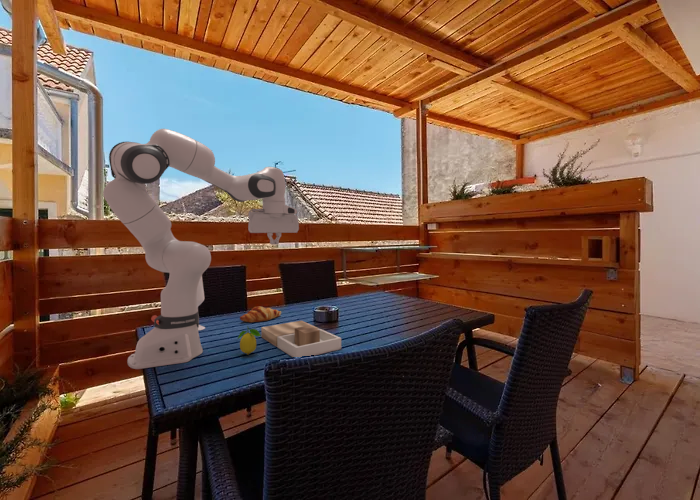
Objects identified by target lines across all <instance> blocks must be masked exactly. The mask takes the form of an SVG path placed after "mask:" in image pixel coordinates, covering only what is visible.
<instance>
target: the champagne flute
mask: <svg viewBox="0 0 700 500" xmlns="http://www.w3.org/2000/svg"><path fill="white" fill-rule="evenodd" d="M205 300H206V299H205V291H204V282H203V275H202V276H201V278H200V281H199V284H198V288H197V312H198V313H199V306H201V305H202V303H203V302H204V301H205ZM205 329H206V327H205V326H204V325H201V324H199V327H198V331H202V330H205Z"/></svg>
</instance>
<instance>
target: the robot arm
mask: <svg viewBox="0 0 700 500" xmlns="http://www.w3.org/2000/svg"><path fill="white" fill-rule="evenodd" d="M108 161H109V167H110V173H111V176H112V177H113V180H111V181H110V182H108V183H107V184H106V185H105V187H104V189H103V191H102V194H103V195H102V196H103V197H104V200H105V201H106V204H107V205H108V206H109V208H110V209H111V211H112V212H113V213H114V215H115V217H117V218H118V220H119V221H120V222H121V223H122V224H123V225H124V227H126V228H127V229H128V231H129V232H130V233H131V234H132V235H133V236H134V237H135V239H136V240H137V241H138V242H139V244H140V245H141V247H142V249H143V250H144V253H145V256H144V257H145V261H146V264H147V265H148V266H149V267H150V268H151V269H154V270H156V271H159V272H161V273H167V274H169V276H168V277H169V278H168V280H167V284H166V285H165V287H163V288H162V289H161V292H160V314H159V315H158V316H157V315H156V314H155V315H152V316H151V318H150V319H151V321H152V322H153V323H154V327H153V328H152V329H151V330H149V331H148V332H147V333H146V334H144V335H143V336H142V337H141V338H139V340H138V341H137V342H136V343H137V344H136V345H135V346H136V347H135V352H134V353H131V354H130V355H129V356H128V357H127V361H126V362H127V366H128V367H130V369H135V370H141V369H148V368H155V367H161V366H162V367H163V366H167V365H168V366H169V365H175V364H176V365H177V364H183V363H184V364H185V363H189V362H190V361H191V360H193V359H194V358H196V357H198V356H200V355H201V354H202V353H203V352H204V350H203V346H202V344H201V343H202V342H201V339H200V335H199V330H198V327H199V325H200V316H199V311H198V312H197V288H198V284H199V281H200V278H201V276H202V277H203V274H204V273H205V271H206V270H207V269H208V268H209V267H210V265H211V262H212V255H211V251H210V250H209V248H208V247H207V246H205V245H204V244H201V243H198V242H196V241H189V240H188V241H186V240H184V241H183V240H179V239H177V238H176V237H175V236H174V234H173V232H172V229H171V228H172V222H171V219H170V217H168V215H167V214H166V213H165V211H163V209H162V208H161V207H160V206H159V204H158V203H157V202H156V201H155V199H154V198H153V197H152V196H151V195H150V193H149V192H148V190H147V187H146V185H147V184H148V185H149V184H152V183H155V182H156V181H158V180H160V178H161V177H162V176H163V174H164V172H165V171H167V169H168V168H172V169H175V170H177V171H180V172H181V173H184V174H187V175H189V176H192V177H195V178H197V179H201V180H202V181H204V182H206V183H208V184H210V185H212V186H214V187H216V188H218V189H220V190H223V191H224V192H225V193H226V194H227V195H228V196H229V197H231V199H233V200H234V201H236V202H239V203H242V202H248V201H255V200H262V208H252V209H250V210H248V227H247V228H248V232H249V233H250V234H267V238H268V239H269V244H270V245H279V241H280V239H281V237H282V233H283V234H285V233H286V234H288V233H291V234H292V233H294V234H295V233H296V234H297V233H299V232H298V231H299V230H300V227H299V226H300V223H299V218H298V216H297V215H296V214H297V213H298V210H297V209H296V208H294V207H292V206H289V205H287V204H286V199H285V194H286V179H285V175H284V171H283V170H282V169H280V168H278V167H276V166H265V167H264V168H263V169H261V170H259V171H257V172H253V173H249V174H244V175H232V174H230V173H227V171H224V170H222V169H220V168H218V167H216V166H215V164H216V157H215V154H214V152H213V150H212V149H210V148H209V147H208V146H206V144H203V143H202V142H201V141H198V140H197V139H194V138H192V137H191V136H188V135H185V134H182V132H178V131H174V130H171V129H168V128H159V129H157V130H156V131H155V132H154V133H152V134H151V136H150V139H149V141H148V142H147V143H139V142H134V141H121V142H118V143H116V144H115V145H114V146H113V147H112V148H111V149H110V151H109V155H108ZM274 234H275V236H276V237H275V239H274V237H273V235H274Z"/></svg>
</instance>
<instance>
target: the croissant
mask: <svg viewBox="0 0 700 500" xmlns="http://www.w3.org/2000/svg"><path fill="white" fill-rule="evenodd" d="M281 315H282V311H281V310H280V311H279V310H278V309H273V308H271V307H263V306H254V307H253V308H251V310H249V311H248V312H246V313H245V314H242V315H240V316H239V320H240V321H242V322H245V323H260V322H267V321H269V320H272V319H275V318H278V317H280V316H281Z"/></svg>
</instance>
